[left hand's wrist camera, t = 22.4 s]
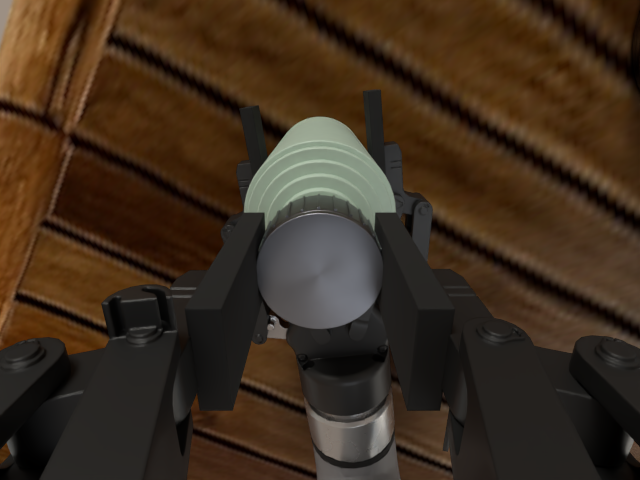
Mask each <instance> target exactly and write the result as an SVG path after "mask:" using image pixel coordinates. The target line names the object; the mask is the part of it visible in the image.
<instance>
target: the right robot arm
mask: <svg viewBox="0 0 640 480" xmlns="http://www.w3.org/2000/svg"><path fill="white" fill-rule="evenodd" d="M363 96H364V109H365V121H366V134H367V147H368V153H369V154H370V156H371V157H372V158H373V160H374V161H375V162H376V164H377V165H378V166H379V168H380V169H381V170H382V172H383V173H384V174H385V176H386V178H387V180H388V182H389V183H390V186H391V189H392V191H393V195H394V199H395V206H396V213H397V215H398V216H399V218H400V219H401V216H402V213H405V214H406V218H405V228H406V229H407V231H408V233H409V234H410V236H411V238H412V239H413V241H414V242H415V244H416V246H417V247H418V249H419V251H420V252H421V254H422V255H423V257H424V259H425V260H426V262H427V258H428V249H429V239H430V230H431V220H432V211H433V210H432V206H431V204H430V203H429V202H428V201H427V200H426V199H425V198H424V197H423V196H422V195H421V194H420V193H411V192H406V191H404V190H403V178H402V157H401V150H400V148H399V146H398V144H397V143H395V142H394V141H393V142H385V143H384V136H383V120H382V104H381V90H368V91H363ZM240 114H241V119H242V124H243V129H244V134H245V140H246V145H247V150H248V155H249V160H245V161H241V162H240V163H239V164H238V165H237V171H236V174H237V179H238V184H239V188H240V193H241V198H242V203H243V211H242V212H240V213H238V214H237V215H232V216H231V217H230V218H229V219H228V221H227V222H226V224H225V225H224V227H223V228H222V229H221V236H222V239H223V242H224V244H225V242H226V240H227V239H228V237H229V236H230V234H231V232H232V231H233V229H234V227H235V226H236V224H237V223H238V221H239V219H240V218H241V216H242V214H243V213H244V204H245V199H246V194H247V191H248V188H249V185H250V183H251V182H252V180H253V178H254V176H255V174H256V173H257V172H258V170H259V169H260V167H261V166H262V165H263V163H264V162H265V161H266V159H267V158H268V156H267V150H266V145H265V139H264V133H263V128H262V122H261V116H260V111H259V105H258V106H250V107H245V108H241V109H240ZM267 338H279V339H286V340H287V342H288V344H289V345H290V346H291V347H292V348H293V350H294V351H295V354H296V359H297V364H298V369H299V375H300V380H301V386H302V391H303V394H304V403H305V408H306V413H307V418H308V423H309V428H310V434H311V438H312V442H313V448H314V455H315V462H316V470H317V480H401V479H400V474H399V468H398V462H397V453H396V444H395V435H394V433H395V429H394V423H395V421H394V409H393V397H392V387H391V369H390V356H389V342H388V338H387V334H386V331H385V327H384V323H383V320H382V316H381V312H380V308H379V305H378V301H377V299H376V300H375V302H374V303H373V304H372V306H371V307H370V308H369V309H368V310H367V311H366V312H365V313H364V314H362V315H361V316H360V317H359V318H357V319H355V320H354V321H352V322H350V323H347V324H345V325H342V326H339V327H334V328H329V329H311V328H305V327H301V326H298V325H295V324H292V323H290V322H285V321H283V320H282V319H281V317H280V316H278V315H277V314H276V313H275V312H274V311H273V310H272V309H271V308H270V307H269V306H268V305H267V303H266V302H265V300H264V299H263V300H262V304H261V308H260V311H259V315H258V319H257V322H256V326H255V330H254V333H253V337H252V341H253V342H254V343H255V344H263V343H265V342H266V340H267Z"/></svg>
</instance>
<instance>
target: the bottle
mask: <svg viewBox="0 0 640 480" xmlns="http://www.w3.org/2000/svg"><path fill="white" fill-rule="evenodd" d="M318 194H320V195H326V196H333V195H334V196H335V197H336V198H340V199H342V200H345V201H347V200H348V201H349V203H350V204H352V205H354V206H355V207H356V208H357V209H359V208H360V209H361V211H362V213H363V215H364V216H365V217H366V218H367V220H368V219H369V220H370V222H371V225H372V227H373V230H374V226H375V212H396V206H395V199H394V195H393V191H392V189H391V186H390V183H389V182H388V180H387V178H386V176H385V174H384V173H383V172H382V170H381V169H380V168H379V166H378V165H377V164H376V162H375V161H374V160H373V158H372V157H371V156H370V154H369V153H368V152H367V150H366V149H365V148H364V146H363V145H362V144H361V143H360V141H359V140H358V139H357V137H356V136H355V135H354V133H353V132H352V131H351V130H350V129H349V128H348V127H347V126H346V125H344V124H343V123H341V122H339V121H337V120H335V119H332V118H328V117H313V118H308V119H305V120H303V121H301V122H299V123H297V124H296V125H294V126H293V127H292V128H291V129H290V130H289V131H288V132H287V133H286V135H285V136H284V137H283V139H282V140H281V141H280V142H279V144H278V145H277V146H276V148H275V149H274V150H273V152H272V153H271V154H270V156H269V157H268V158H267V159H266V161H265V162H264V163H263V165H262V166H261V167H260V169H259V170H258V172H257V173H256V174H255V176H254V178H253V180H252V182H251V183H250V185H249V188H248V191H247V194H246V199H245V204H244V212H264V213H265V231H266V229H267V226H268V223H269V221H272V220H273V218H274V217H275V216H276V214H277V211H278V210H281V209H282V208H284V207H285V206H286V205H288V204H289V202H290V201H291V202H293V201H295V200H298V199H300V198H303V196H305V197H307V196H314V195H318Z"/></svg>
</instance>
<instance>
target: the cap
mask: <svg viewBox="0 0 640 480" xmlns="http://www.w3.org/2000/svg"><path fill="white" fill-rule="evenodd" d="M381 251H382V248H381V246H380V243H379V240H378V238H377V235H376V233H375V232H374V230H373V227H372V225H371V222H370V220H369V219H368V220H367V218H366V217H365V216H364V215H363V213H362V211H361V209H360V208H359V209H357V208H356V207H355V206H354V205H352V204H350V203H349V201H348V200H347V201H345V200H342V199H340V198H336V197H335V196H334V195H333V196H326V195H320V194H318V195H314V196H307V197H305V196H303V198H300V199H298V200H295V201H293V202H291V201H290V202H289V204H288V205H286V206H285V207H284V208H282V209H281V210H278V211H277V214H276V216H275V217H274V218H273V220H272V221H269V223H268V226H267V229H266V231H265V234H264V236H263V239H262V241H261V244H260V247H259V249H258V256H257V260H256V265H257V280H258V288H259V291H260V293H261V295H262V297H263V299H264V300H265V302H266V303H267V305H268V306H269V307H270V308H271V309H272V310H273V311H274V312H275V313H276V314H277V315H278V316H280V317H281V318H283V319H284V320H286V321H288V322H290V323H292V324H295V325H298V326H301V327H305V328H311V329H329V328H334V327H339V326H342V325H345V324H347V323H350V322H352V321H354V320H355V319H357V318H359V317H360V316H361V315H362V314H364V313H365V312H366V311H367V310H368V309H369V308H370V307H371V306H372V304H373V303H374V302H375V300H376V299H377V297H378V295H379V293H380V291H381V288H382V277H383V257H382V254H381Z"/></svg>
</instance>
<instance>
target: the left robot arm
mask: <svg viewBox="0 0 640 480" xmlns="http://www.w3.org/2000/svg"><path fill="white" fill-rule="evenodd" d="M632 59H633V69H634V74H635V78H636V82H637V85H638V87H639V90H640V11H639V15H638V18H637V22H636V26H635V31H634V37H633V48H632ZM374 232H375V233H376V235H377V238H378V240H379V243H380V246H381V248H382V251H381V254H382V257H383V277H382V288H381V291H380V293H379V295H378V297H377V301H378V305H379V308H380V312H381V316H382V320H383V323H384V327H385V331H386V334H387V338H388V342H389V345H390V349H391V353H392V356H393V360H394V364H395V368H396V371H397V375H398V379H399V382H400V386H401V390H402V393H403V397H404V401H405V404H406V408H407V411H440V407H441V400H442V393H443V392H444V395H445V397H446V400H447V402H448V405H449V407H450V408H449V414H448V420H447V426H446V432H445V439H444V445H443V451H447V452H448V448H449V447H450V455H451V463H452V471H453V479H454V480H640V463H639V462H638V461H637V460H636V459H635V458H634V457H633V456H632V455H631V453H630V452H629V451H630V449H631V446H632V444H633V442H634V441H635V442H636V443H637V444H638V445H639V446H640V349H639V348H637V347H635V346H633V345H630V344H628V343H626V342H624V341H622V340H619V339H616V338H615V339H613V338H612V337H606V336H593V335H591V336H585V337H581V338H580V339H579V340H577V341H576V343H575V346H574V350H573V353H567V352H561V351H556V350H551V349H546V348H541V347H537V346H534V345H533V343H532V341H531V339H530V337H529V336H528V335H527V334H526V333H525V331H523V330H522V329H520V328H519V327H517V326H516V325H514V324H512V323H509V322H507V321H504V320H501V319H496V318H494V317H493V316H492V315H491V313H490V312H489V311H488V309H487V308H486V307H485V305H484V304H483V303H482V302H481V300H480V299H479V298H478V296H476V294H475V292H474V291H473V290H472V288H470V286H469V284H468V283H467V282H466V280H465V279H464V278H463V277H462V276H460V275H459V274H457V273H455V272H454V271H452V270H450V269H431V268H430V267H429V265H428V264H427V262H426V260H425V259H424V257H423V255H422V254H421V252H420V251H419V249H418V247H417V246H416V244H415V242H414V241H413V239H412V238H411V236H410V234H409V233H408V231H407V229H406V228H405V226H404V225H403V223H402V221H401V220H400V218H399V216H398V215H397V213H396V212H375V226H374ZM264 234H265V213H264V212H244V213H243V214H242V216H241V218H240V219H239V221H238V223H237V224H236V226H235V227H234V229H233V231H232V232H231V234H230V236H229V237H228V239H227V240H226V242H225V244H224V245H223V247H222V249H221V250H220V252H219V253H218V255H217V257H216V258H215V260H214V262H213V263H212V265H211V266H210V268H209V270H190V271H188V272H187V273H185V274H183V275H182V276H180V277H179V278H177V279H176V280H175V282H174V283H173V284H172V286H171V287H170V289H168V288H167V287H165V286H161V285H139V286H133V287H129V288H126V289H123V290H120V291H118V292H116V293H114V294H112V295H111V296H109V297H107V298H106V299H105V300H104V301H103V302H102V303H101V304H102V309H103V313H104V317H105V321H106V325H107V329H108V333H109V337H110V339H109V341H108V343H107V345H106V347H105V348H102V349H98V350H93V351H88V352H83V353H77V354H72V355H68V354H67V351H66V347H65V344H64V343H63V342H62V341H61V340H59V339H56V338H50V337H46V338H33V339H28V340H27V341H26V340H24V341H21V342H18V343H16V344H14V345H12V346H10V347H7V348H5V349H3V350H1V351H0V449H1V448H2V447H3V446H4V445H5V444H6V443H7V445H8V447H9V450H10V452H11V454H10V455H9V457H8V458H7V459H6V460H5V461H4V462H3V463H1V464H0V480H187V472H188V464H189V455H190V447H191V439H192V431H193V421H192V414H191V406H192V404H193V401H194V399H195V396H196V394H197V395H198V402H199V408H200V411H233V407H234V404H235V400H236V396H237V392H238V389H239V385H240V381H241V378H242V374H243V370H244V367H245V363H246V359H247V356H248V352H249V348H250V345H251V341H252V337H253V333H254V330H255V326H256V322H257V319H258V315H259V311H260V308H261V304H262V300H263V297H262V295H261V293H260V291H259V288H258V280H257V265H256V260H257V256H258V249H259V247H260V244H261V241H262V239H263V236H264Z"/></svg>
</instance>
